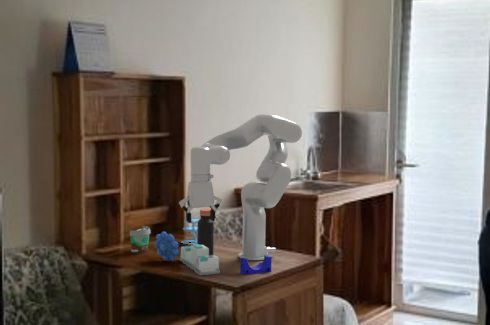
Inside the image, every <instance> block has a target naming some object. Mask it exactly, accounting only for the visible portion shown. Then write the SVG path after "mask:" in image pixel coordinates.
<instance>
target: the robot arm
mask: <svg viewBox="0 0 490 325" xmlns="http://www.w3.org/2000/svg"><path fill="white" fill-rule="evenodd" d="M302 135H303V131H302V128H301V126H300V125H299V124H298V123H297V122H294V121H292V120H290V119H286V118H284V117H281V116H278V115H275V114H266V113H265V114H263V113H262V114H260V113H259V114H256V115H255V116H253V117H251V118H250V119H249V120H246V122H244V123H243V124H241V125H239V126H238V127H236V128H235V129H231V130H229V131H226V132H223V133H221V134H218V135H216V136H214V137H212V138H211V139H208V140H207V141H206V142H204V143H203V144H202V145H201V146H193V147H192V148H190V181H188V185H187V190H186V197H185V198H183V199H182V200H181V199H180V201H179V202H178V204H179V205H180V208H181V209H182V210H183V211H184V212H185V220H186V221H187V222H188V224H192V223H191V218H192V213H191V211H192V210H193V209H194V208H195V209H197V208H209V209H211V210H210V220H212V221H214V222H215V221H216V220H215V219H216V211H217V210H218V208H220V205H221V203H222V201H223V200H222V199H221V198H219V197H218V196H216V195H214V186H213V182H212V181H211V179H213V178H214V174H211V165H218V166H220V165H224V164H226V163H227V162H229V160H230V157H231V151H232V150H237V149H242V148H247V147H248V146H250V145H251V144H253V143H254V142H256V141H257V140H258V139H260V138H261V137H263V136H267V138H268V142H269V147H268V148H269V149H268V151H267V153H266V155H265V156H264V158H263V160H262V161H261V163H260V164H259V167H258V168H257V170H256V174H255V175H256V176H255V177H256V179H257V180H258V182H256V181H255V182H253V181H252V182H251V181H250V182H248V183H246V184H244V185H243V187H242V189H241V190H240V191H241V192H240V197H241V205H242V249H241V250H242V251H241V252H239V253H238V258H239V259H241V258H246V259H248V261H263V260H264V256H265V255H268V256H269V254H270V253H275V252H276V251H277V249H276V247H270V246H266V226H267V225H266V222H267V221H266V220H267V219H266V217H267V215H266V211H265V209H271V208H272V209H273V208H274V207H275V206H276V205H277V204H278V203H279V201H281V199H282V197H283V194H285V191H286V189H287V188H288V186H289V185H290V182H291V179H292V170H291V167H289V165H287V164H285V163H286V161H287V159H288V154H289V152H288V151H289V150H288V146H287V143H290V144H294V143H297V142H298V141H300V140H301V138H302ZM230 150H231V151H230ZM215 200H216V203H215ZM185 203H186V205H187V206H185Z"/></svg>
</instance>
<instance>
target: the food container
mask: <svg viewBox="0 0 490 325" xmlns="http://www.w3.org/2000/svg"><path fill="white" fill-rule="evenodd" d="M141 227H142V228H137V229H135V230H130V231H129V237H130V251H131V252H130V253H131V254H145V253H148V251H149V242H150V235H151V234H152V232H151V228H150V227H149V226H145V225H142V226H141Z"/></svg>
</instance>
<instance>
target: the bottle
mask: <svg viewBox="0 0 490 325" xmlns="http://www.w3.org/2000/svg"><path fill="white" fill-rule="evenodd" d="M210 210H211V208H201V209H200V210H199V217H200V218H199V221H198V222H197V227H198V232H196V233H197V235H196V237H197V244H199V245H204V246H206V247H207V248H209V256H211V255H214V243H215V242H214V240H215V239H214V236H215V234H214V232H215V227H214V226H215V221H212V220H210Z"/></svg>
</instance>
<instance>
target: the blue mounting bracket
mask: <svg viewBox="0 0 490 325" xmlns="http://www.w3.org/2000/svg"><path fill="white" fill-rule="evenodd" d="M239 259H240V261H239V262H240V264H239V265H240V269H239V270H240V271H239V272H240V274H242V275H243V276H244V275H253V274H263V273H272V256H271V255H269V254H268V255H265V256H264V260H262V261H261V262H259V263H258V264H257V265H255V266H252V267H251V266H250V265H249V262H248V261H249V260H248V259H246V258H239Z"/></svg>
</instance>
